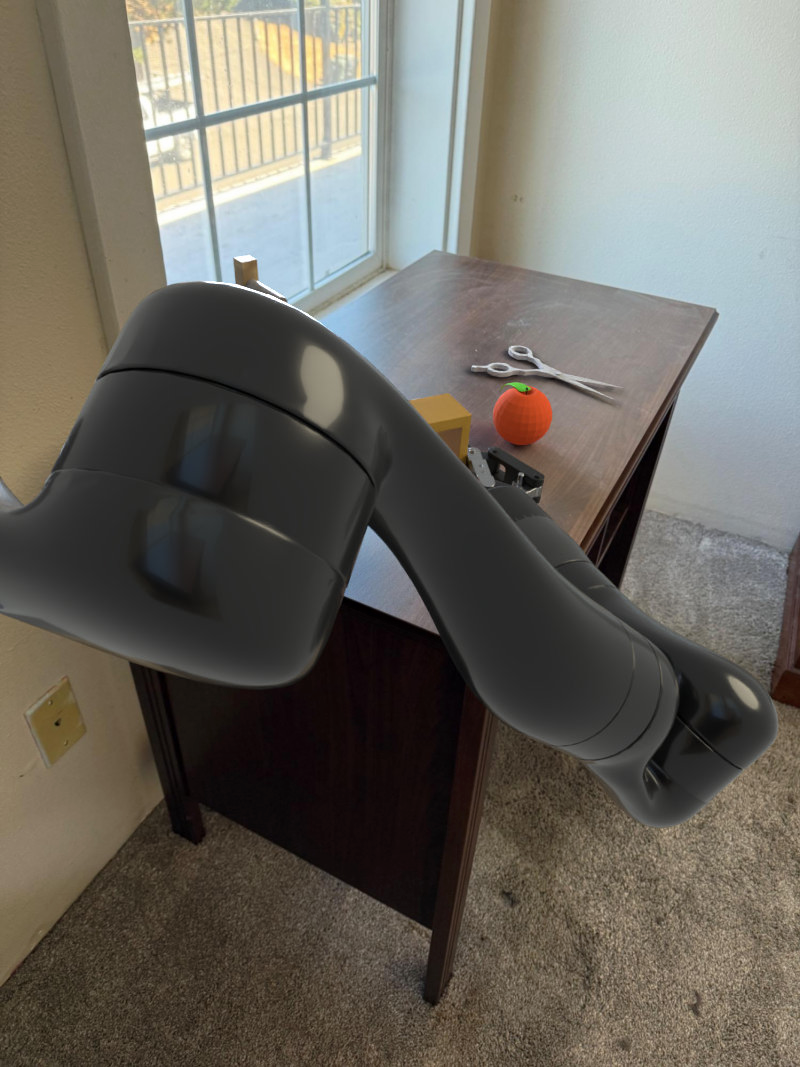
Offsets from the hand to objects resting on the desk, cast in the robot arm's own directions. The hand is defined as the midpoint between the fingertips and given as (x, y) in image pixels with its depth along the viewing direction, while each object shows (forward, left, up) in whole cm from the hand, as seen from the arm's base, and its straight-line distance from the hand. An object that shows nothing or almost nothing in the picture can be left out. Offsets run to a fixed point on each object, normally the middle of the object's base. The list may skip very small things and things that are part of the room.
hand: (415, 445), depth 65 cm
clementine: (+17, +19, -12) cm, 28 cm away
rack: (-12, +30, -12) cm, 34 cm away
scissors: (+27, +34, -12) cm, 45 cm away
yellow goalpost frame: (+1, -3, -6) cm, 7 cm away
